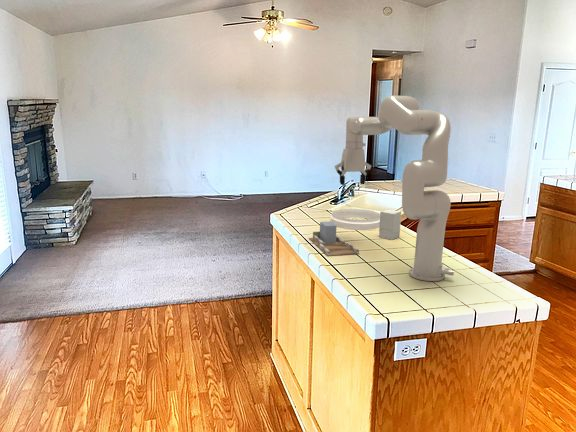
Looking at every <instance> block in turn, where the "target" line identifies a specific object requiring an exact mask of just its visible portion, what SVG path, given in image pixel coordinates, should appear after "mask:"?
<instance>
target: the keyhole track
mask: <svg viewBox="0 0 576 432" xmlns="http://www.w3.org/2000/svg"><path fill="white" fill-rule="evenodd" d="M308 239H309V241H311V242H312V243H313V244H314V245H315V246H316V247H317V248H318V249H319V250H320V251H321V252H322V253H323V254H325V256H326V257H338V256H354V255H355V256H356V255H360V249H358V248H357V247H356V246H355V245H353V244H352V243H350V242H346V241H345V240H344V239H342V238H341V237H339V236H338V235H337V234H336V243H326V244H325V243H324V242H323V241H322V240H321V239H320V230H318V231H313V232H312V237H309V238H308Z"/></svg>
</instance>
